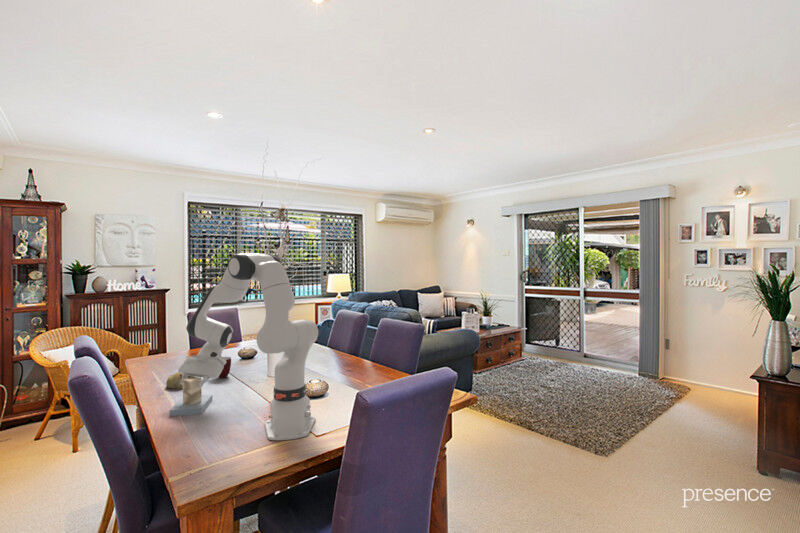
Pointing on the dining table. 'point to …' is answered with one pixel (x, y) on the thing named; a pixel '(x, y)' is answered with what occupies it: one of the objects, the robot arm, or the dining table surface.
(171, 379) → the pastry
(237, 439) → the dining table surface
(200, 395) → the maple block
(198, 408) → the base plate
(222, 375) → the mug
